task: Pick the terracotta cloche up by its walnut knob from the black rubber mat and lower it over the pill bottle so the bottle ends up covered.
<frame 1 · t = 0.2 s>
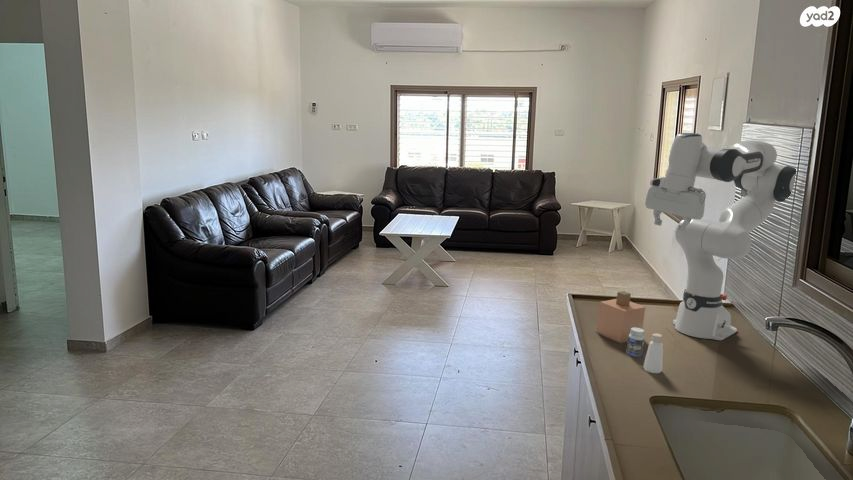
hand: (669, 228, 199), 39 cm above the worktop, tool pointing down, fingers open, 8 cm apart
pill bottle: (633, 355, 197), on the worktop
cloche: (618, 334, 212), resting on mat
mat: (618, 336, 212), on the worktop
pepper shaker: (652, 370, 187), on the worktop
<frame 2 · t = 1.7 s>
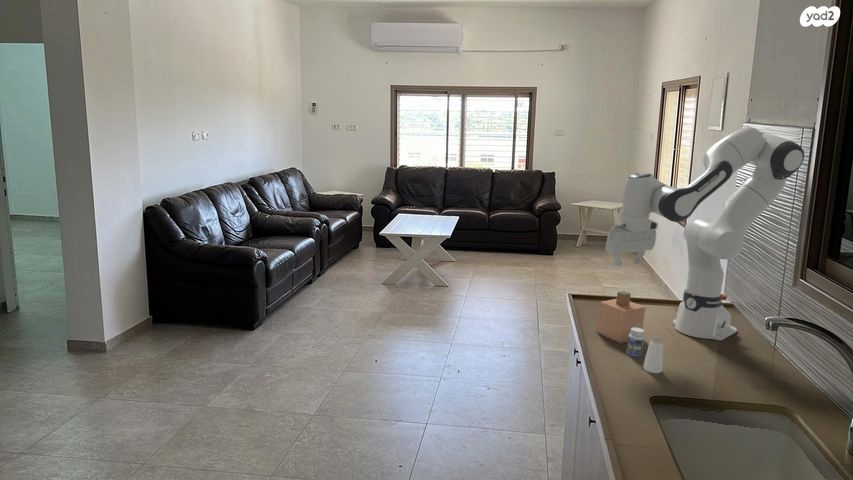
hand: (627, 264, 206), 25 cm above the worktop, tool pointing down, fingers open, 8 cm apart
nothing on the worktop moved.
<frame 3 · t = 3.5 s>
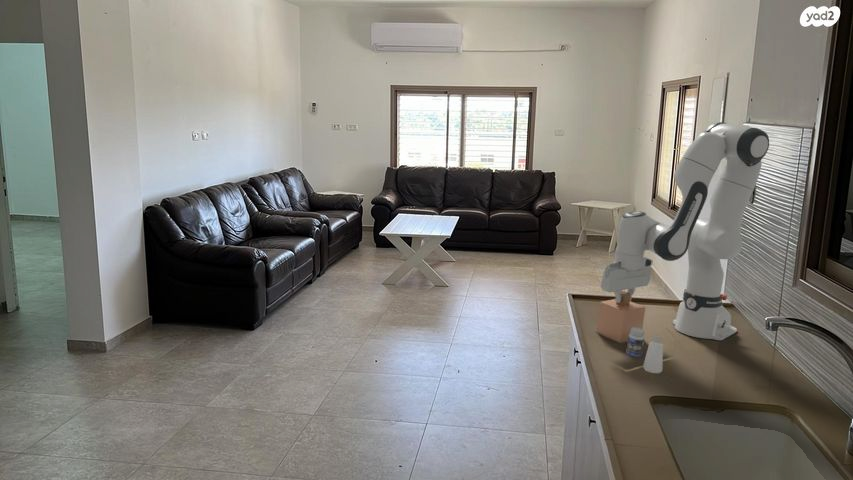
hand: (623, 301, 209), 12 cm above the worktop, tool pointing down, fingers closed on cloche, 3 cm apart
cloche: (618, 334, 212), resting on mat, touching gripper
everything else where it was.
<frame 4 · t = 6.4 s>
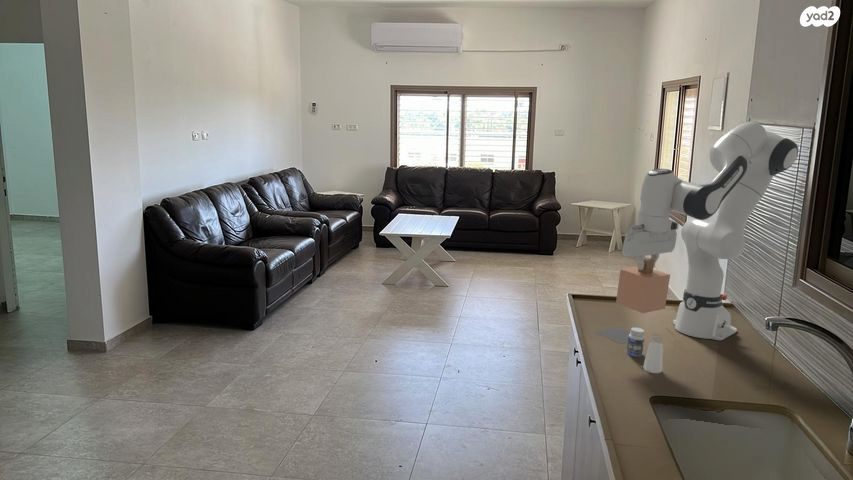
hand: (645, 268, 191), 28 cm above the worktop, tool pointing down, fingers closed on cloche, 3 cm apart
cloche: (640, 305, 194), point 16 cm above the worktop, touching gripper
everything else where it was.
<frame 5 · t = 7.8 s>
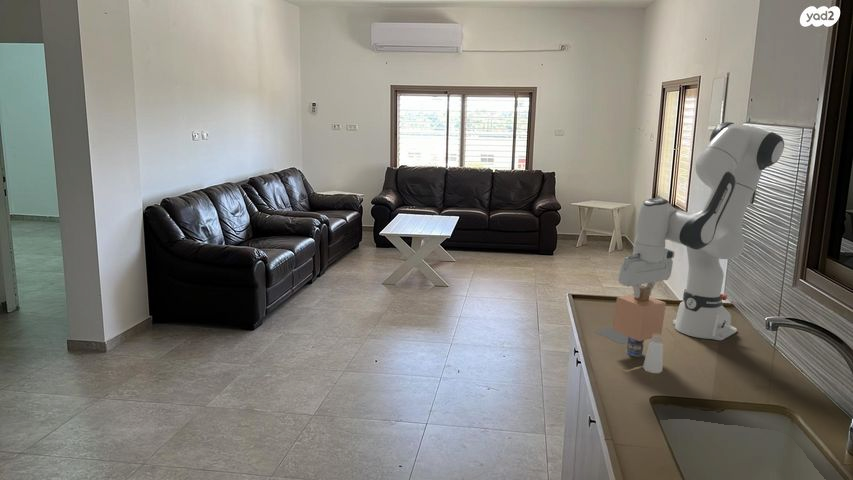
hand: (642, 296, 193), 19 cm above the worktop, tool pointing down, fingers closed on cloche, 3 cm apart
cloche: (636, 332, 195), point 7 cm above the worktop, touching gripper
everything else where it was.
when the fingers open (13 cm above the worktop, at t = 9.2 s): cloche drops 1 cm, on the worktop.
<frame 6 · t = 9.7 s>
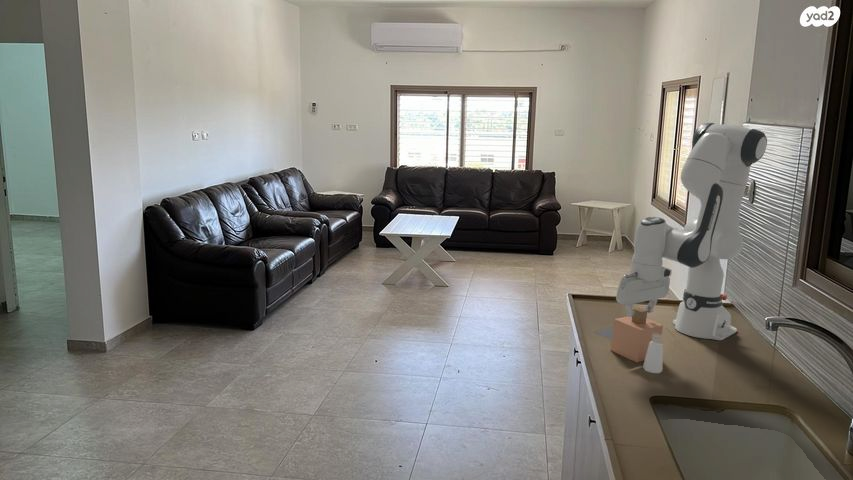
hand: (639, 314, 194), 13 cm above the worktop, tool pointing down, fingers open, 8 cm apart
cloche: (634, 354, 197), on the worktop
everything else where it was.
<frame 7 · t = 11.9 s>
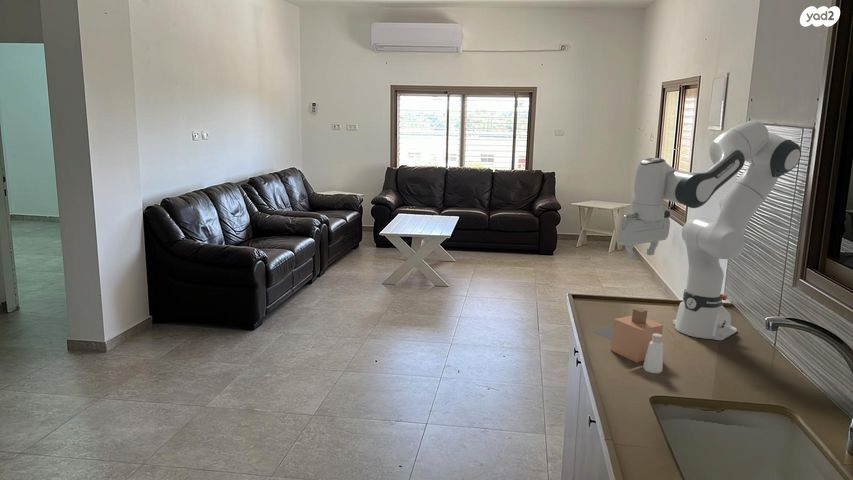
hand: (640, 256, 194), 31 cm above the worktop, tool pointing down, fingers open, 8 cm apart
nothing on the worktop moved.
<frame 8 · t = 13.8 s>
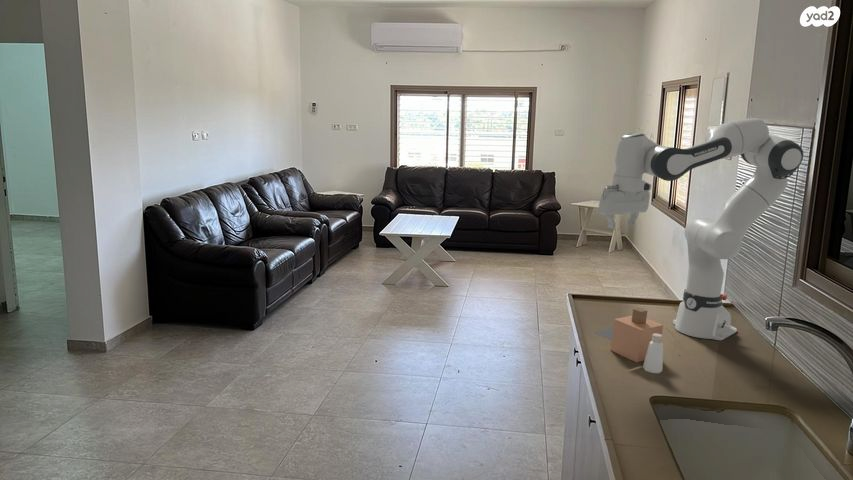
hand: (621, 226, 205), 37 cm above the worktop, tool pointing down, fingers open, 8 cm apart
nothing on the worktop moved.
at the end: cloche 0.1 cm from the pill bottle (horizontally); cloche on the worktop; cloche tilted 0° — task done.
